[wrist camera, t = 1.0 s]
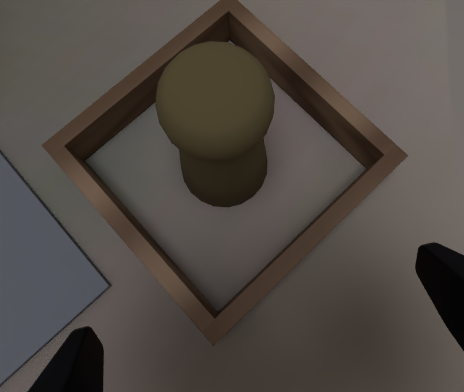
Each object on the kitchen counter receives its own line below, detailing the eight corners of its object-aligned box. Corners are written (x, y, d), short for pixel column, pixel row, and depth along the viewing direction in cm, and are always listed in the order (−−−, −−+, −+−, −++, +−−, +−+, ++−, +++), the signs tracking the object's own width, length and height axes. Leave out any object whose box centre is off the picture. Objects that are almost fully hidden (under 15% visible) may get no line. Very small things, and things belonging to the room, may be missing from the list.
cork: (257, 216, 24) (272, 171, 13) (171, 196, 24) (117, 137, 13) (275, 134, 25) (302, 31, 14) (193, 116, 25) (159, 3, 15)
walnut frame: (387, 169, 24) (408, 155, 21) (216, 335, 22) (213, 346, 19) (230, 23, 27) (229, -8, 24) (65, 160, 25) (41, 145, 22)
